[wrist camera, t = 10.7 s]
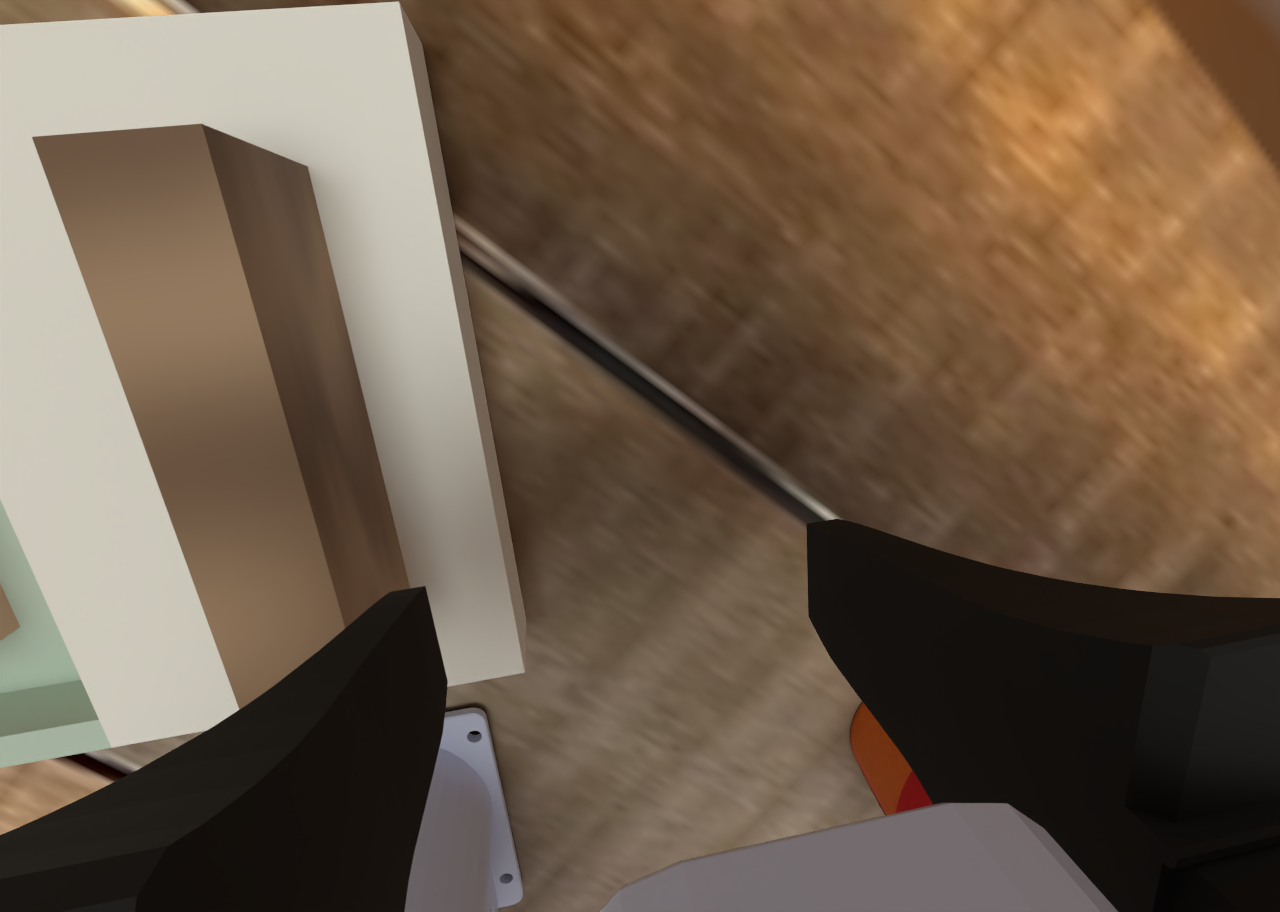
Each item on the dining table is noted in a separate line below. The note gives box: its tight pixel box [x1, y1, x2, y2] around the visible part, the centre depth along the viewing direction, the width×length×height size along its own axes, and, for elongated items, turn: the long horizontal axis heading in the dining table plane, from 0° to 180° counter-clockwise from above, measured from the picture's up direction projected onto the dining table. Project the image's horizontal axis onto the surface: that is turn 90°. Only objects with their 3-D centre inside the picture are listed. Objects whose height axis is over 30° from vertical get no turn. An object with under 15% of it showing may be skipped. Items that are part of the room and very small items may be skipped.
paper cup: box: [850, 702, 933, 816], centre depth 20 cm, size 8×8×14 cm
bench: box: [0, 2, 526, 747], centre depth 18 cm, size 18×12×3 cm, turn 6°
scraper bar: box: [32, 124, 410, 710], centre depth 14 cm, size 12×2×5 cm, turn 6°
